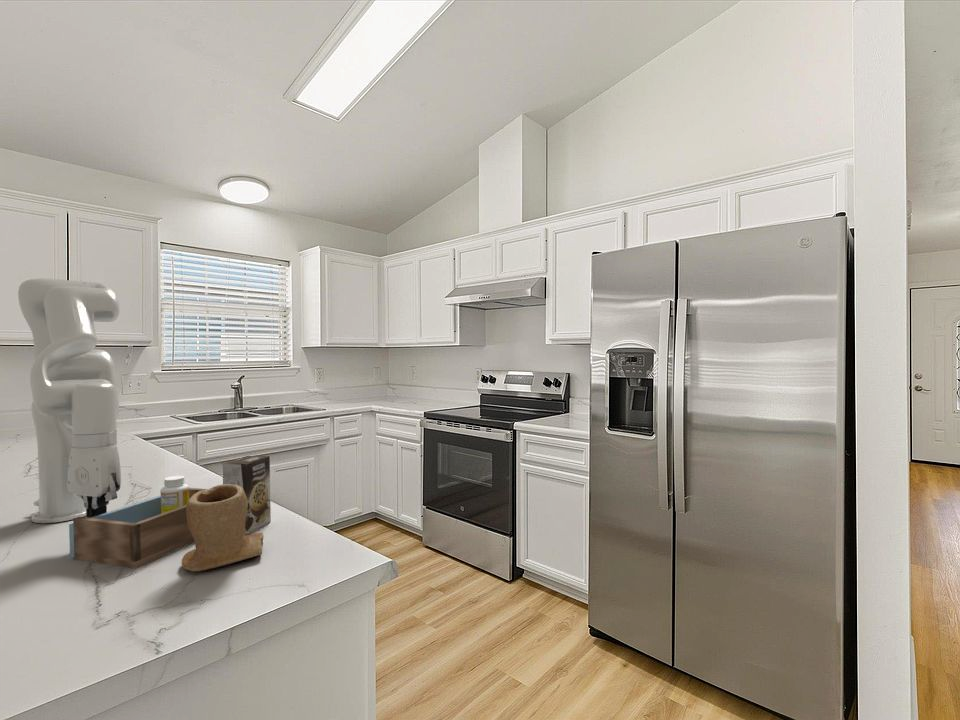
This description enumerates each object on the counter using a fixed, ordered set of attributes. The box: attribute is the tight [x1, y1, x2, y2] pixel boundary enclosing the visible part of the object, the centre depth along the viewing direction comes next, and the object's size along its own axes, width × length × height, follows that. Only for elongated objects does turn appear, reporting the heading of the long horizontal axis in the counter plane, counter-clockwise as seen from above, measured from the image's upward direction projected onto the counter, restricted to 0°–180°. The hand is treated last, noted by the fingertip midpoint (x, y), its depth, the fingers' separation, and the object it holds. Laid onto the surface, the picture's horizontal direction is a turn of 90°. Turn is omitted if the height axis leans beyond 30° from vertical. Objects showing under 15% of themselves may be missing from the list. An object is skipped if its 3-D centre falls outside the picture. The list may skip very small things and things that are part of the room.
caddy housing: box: [72, 487, 209, 569], centre depth 110 cm, size 16×24×8 cm, turn 163°
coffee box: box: [222, 455, 272, 536], centre depth 117 cm, size 9×6×16 cm
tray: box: [68, 494, 161, 559], centre depth 110 cm, size 16×24×7 cm, turn 163°
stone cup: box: [181, 484, 264, 572], centre depth 98 cm, size 15×12×15 cm
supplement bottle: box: [160, 475, 190, 514], centre depth 115 cm, size 6×6×10 cm
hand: (96, 524), depth 108 cm, fingers closed
